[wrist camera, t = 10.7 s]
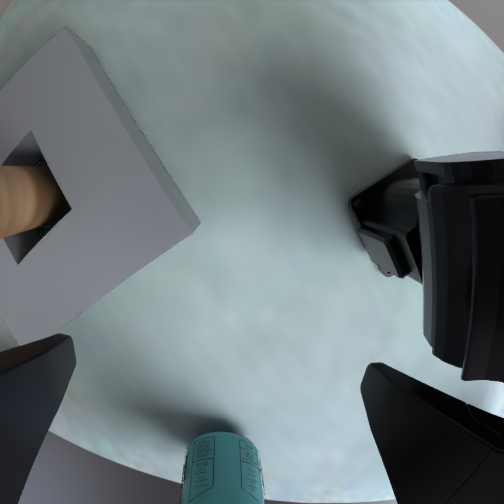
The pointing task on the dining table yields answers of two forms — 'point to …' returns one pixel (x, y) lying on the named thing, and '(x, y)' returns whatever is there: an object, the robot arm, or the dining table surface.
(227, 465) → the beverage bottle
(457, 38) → the dining table surface
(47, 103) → the socket
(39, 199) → the peg
